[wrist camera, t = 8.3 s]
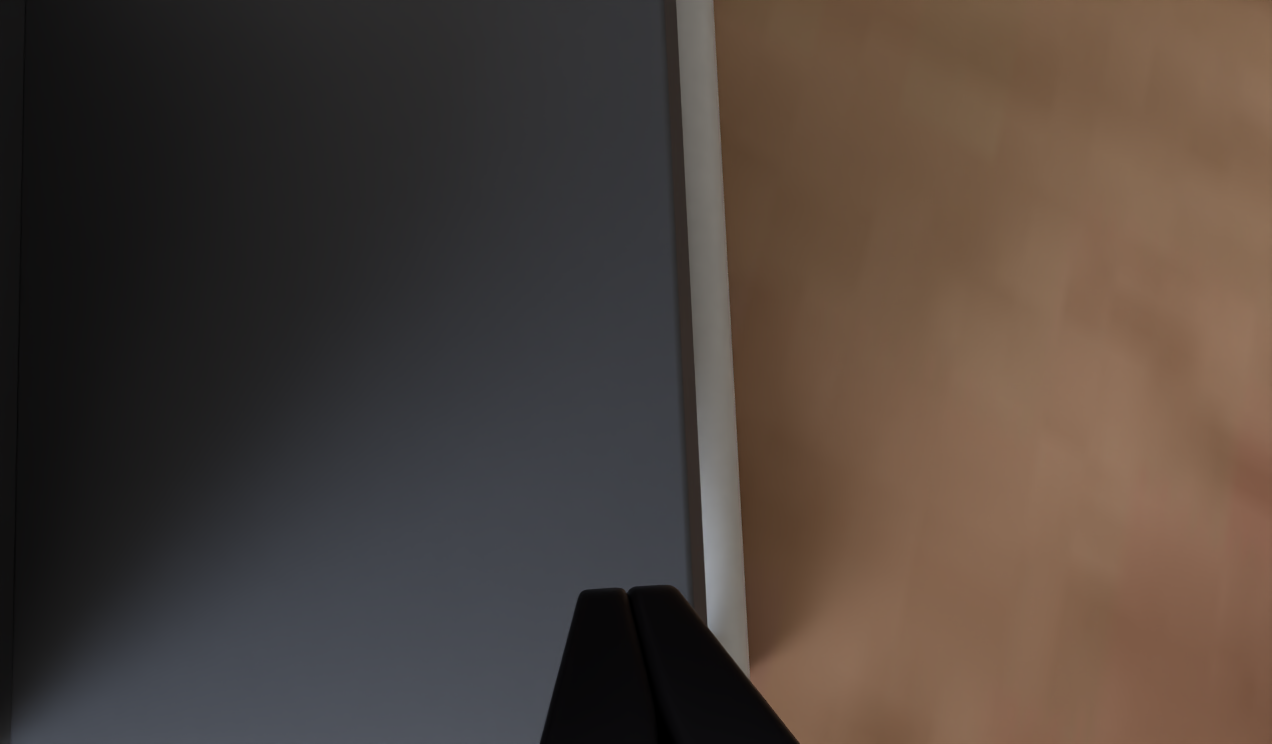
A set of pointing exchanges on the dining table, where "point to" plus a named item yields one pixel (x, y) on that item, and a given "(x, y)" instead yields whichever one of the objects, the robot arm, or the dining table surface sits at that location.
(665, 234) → the oven door
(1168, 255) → the dining table surface
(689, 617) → the robot arm
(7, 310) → the oven
